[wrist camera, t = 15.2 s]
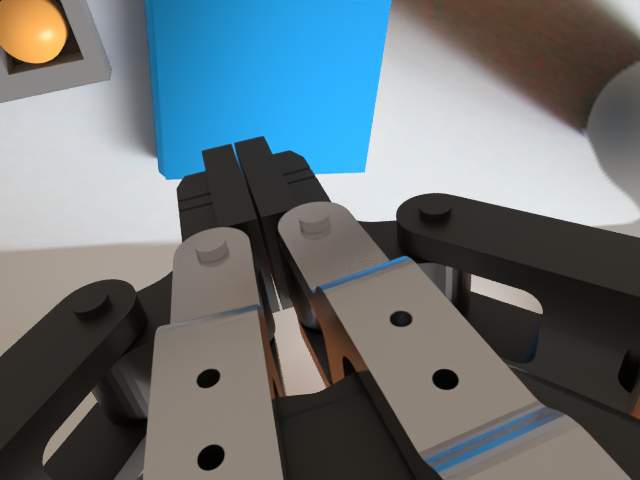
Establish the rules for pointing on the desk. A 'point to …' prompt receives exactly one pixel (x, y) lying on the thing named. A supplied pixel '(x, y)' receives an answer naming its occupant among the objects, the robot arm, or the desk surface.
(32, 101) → the desk surface
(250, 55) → the book
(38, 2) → the button orange
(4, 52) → the panel
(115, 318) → the robot arm
